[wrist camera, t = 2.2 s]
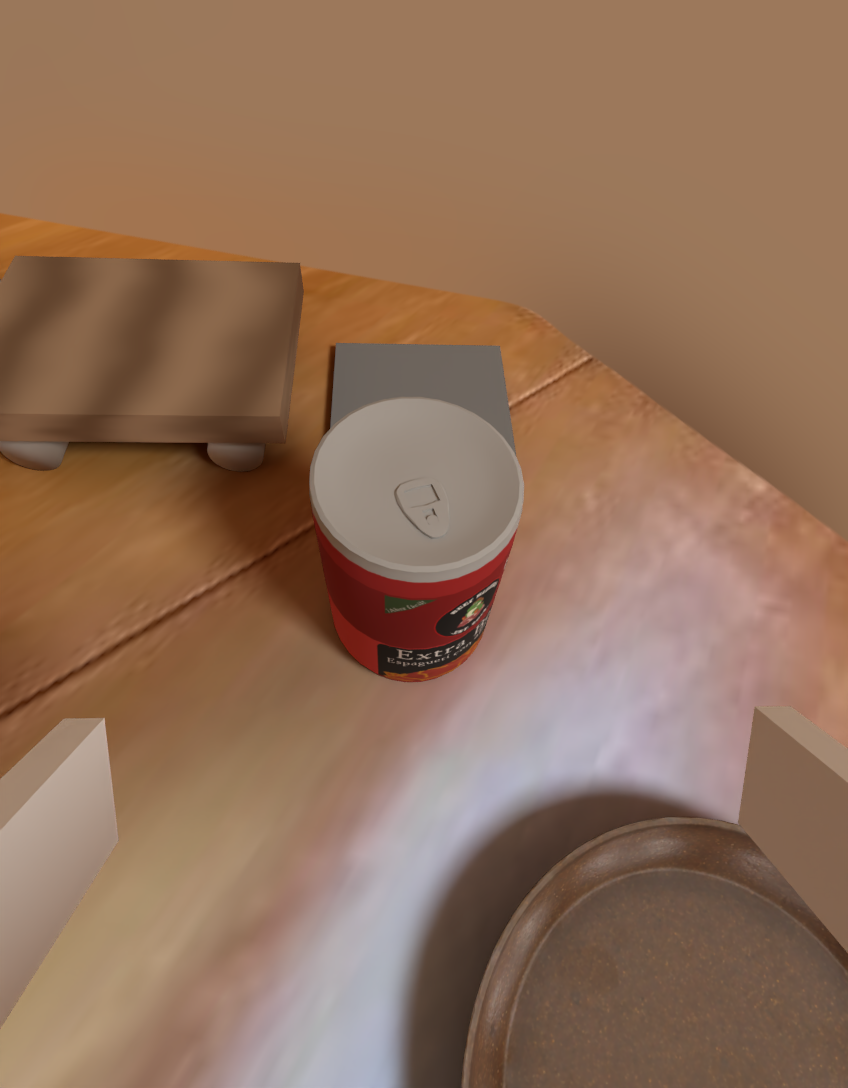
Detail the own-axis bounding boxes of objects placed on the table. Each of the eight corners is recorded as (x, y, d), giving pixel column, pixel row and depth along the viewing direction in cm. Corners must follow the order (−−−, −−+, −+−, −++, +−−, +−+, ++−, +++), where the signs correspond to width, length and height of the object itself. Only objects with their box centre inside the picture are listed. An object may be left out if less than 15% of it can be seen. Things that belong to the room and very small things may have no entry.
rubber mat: (328, 478, 35) (327, 472, 34) (336, 350, 40) (336, 343, 40) (516, 479, 35) (518, 473, 35) (498, 352, 41) (499, 345, 41)
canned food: (390, 720, 27) (389, 616, 18) (302, 591, 31) (264, 447, 21) (517, 632, 30) (574, 502, 21) (424, 522, 33) (437, 367, 24)
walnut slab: (-15, 477, 33) (-74, 412, 29) (54, 325, 40) (15, 255, 36) (293, 478, 34) (279, 416, 30) (308, 330, 41) (299, 262, 37)
